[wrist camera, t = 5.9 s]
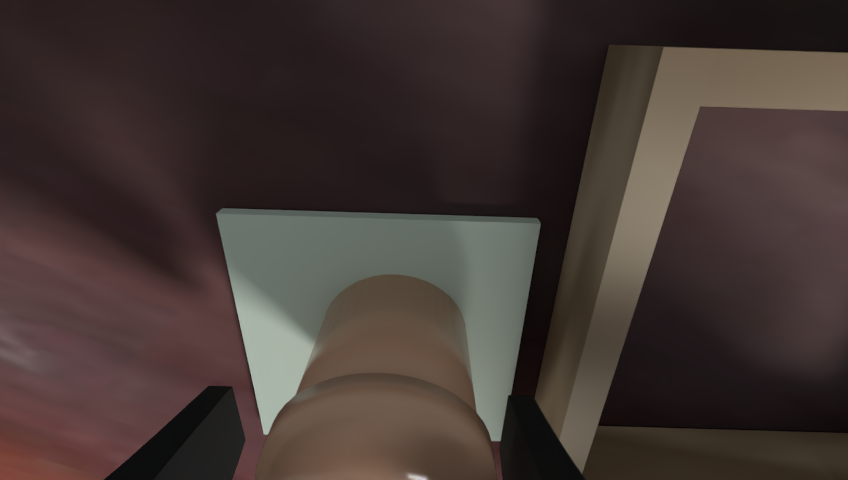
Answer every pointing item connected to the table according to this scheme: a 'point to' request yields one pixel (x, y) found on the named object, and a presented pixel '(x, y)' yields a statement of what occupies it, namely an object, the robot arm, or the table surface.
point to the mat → (366, 257)
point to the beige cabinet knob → (383, 393)
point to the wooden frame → (633, 248)
